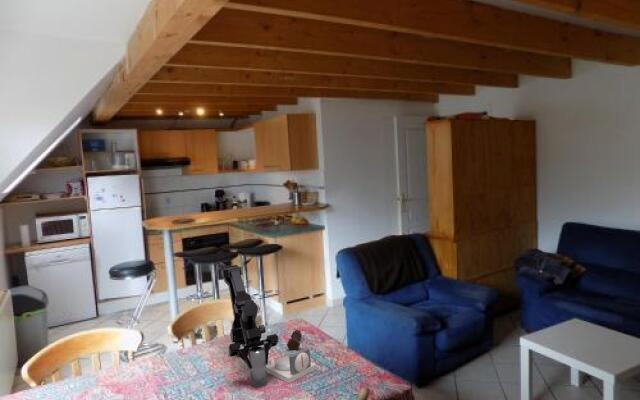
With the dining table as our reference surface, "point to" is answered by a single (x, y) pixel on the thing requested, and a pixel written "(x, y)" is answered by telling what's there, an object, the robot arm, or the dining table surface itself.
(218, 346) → the dining table surface
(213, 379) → the dining table surface
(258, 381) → the cylinder
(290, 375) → the dial scale
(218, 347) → the dining table surface
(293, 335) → the dark brown lobed figurine
